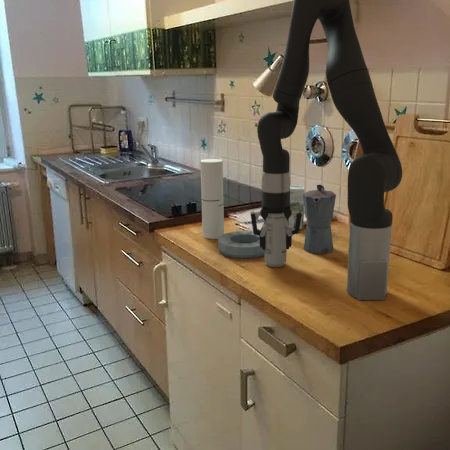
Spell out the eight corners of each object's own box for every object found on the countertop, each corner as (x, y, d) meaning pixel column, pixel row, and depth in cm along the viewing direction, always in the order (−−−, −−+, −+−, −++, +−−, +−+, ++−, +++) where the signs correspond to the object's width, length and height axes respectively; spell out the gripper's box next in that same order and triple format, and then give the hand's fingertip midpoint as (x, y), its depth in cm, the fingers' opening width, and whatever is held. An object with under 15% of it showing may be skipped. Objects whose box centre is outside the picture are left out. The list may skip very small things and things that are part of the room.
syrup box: (302, 225, 176) (303, 184, 172) (303, 230, 170) (304, 188, 166) (286, 225, 177) (287, 184, 173) (286, 229, 171) (287, 188, 167)
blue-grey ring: (273, 258, 144) (273, 246, 143) (217, 259, 144) (217, 247, 143) (269, 241, 159) (269, 230, 158) (218, 241, 159) (218, 231, 158)
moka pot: (299, 256, 145) (300, 188, 140) (304, 240, 160) (305, 178, 154) (332, 258, 143) (335, 189, 137) (334, 241, 157) (337, 179, 152)
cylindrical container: (199, 234, 168) (196, 160, 161) (218, 231, 171) (217, 158, 164) (207, 240, 162) (205, 163, 155) (227, 236, 164) (226, 161, 157)
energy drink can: (287, 267, 136) (288, 214, 132) (265, 268, 136) (265, 214, 132) (284, 260, 142) (285, 208, 138) (263, 260, 142) (263, 209, 138)
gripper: (249, 192, 129) (249, 253, 134) (305, 191, 129) (303, 252, 134) (248, 186, 137) (248, 244, 141) (301, 185, 137) (299, 244, 141)
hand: (275, 248), depth 138 cm, fingers closed on energy drink can, 6 cm apart
